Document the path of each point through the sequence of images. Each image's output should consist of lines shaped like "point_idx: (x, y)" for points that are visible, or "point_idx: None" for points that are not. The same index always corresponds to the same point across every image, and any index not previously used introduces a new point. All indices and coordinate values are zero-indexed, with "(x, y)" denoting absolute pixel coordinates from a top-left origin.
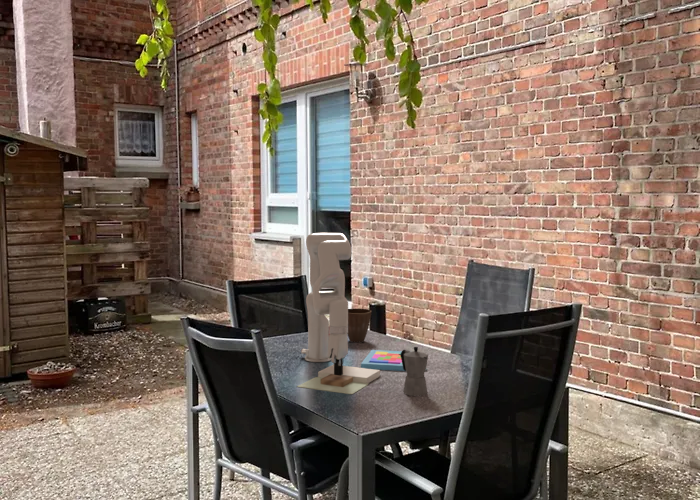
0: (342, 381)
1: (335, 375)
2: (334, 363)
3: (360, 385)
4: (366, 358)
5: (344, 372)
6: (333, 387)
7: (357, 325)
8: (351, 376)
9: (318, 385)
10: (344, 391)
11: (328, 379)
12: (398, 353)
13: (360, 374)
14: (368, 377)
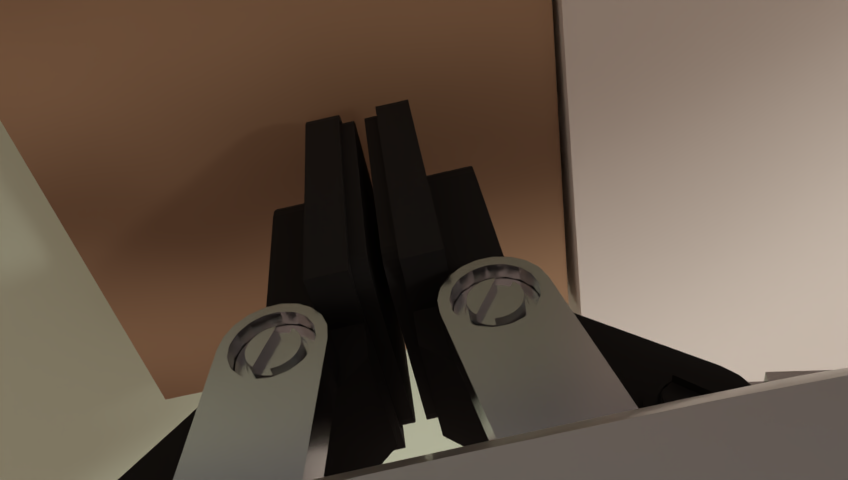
0: (187, 377)
1: (469, 3)
2: (158, 470)
3: (425, 426)
4: None
5: (793, 29)
6: (24, 259)
7: None
8: (576, 290)
9: None
10: (31, 462)
11: (54, 113)
12: None
13: (748, 332)
14: None
